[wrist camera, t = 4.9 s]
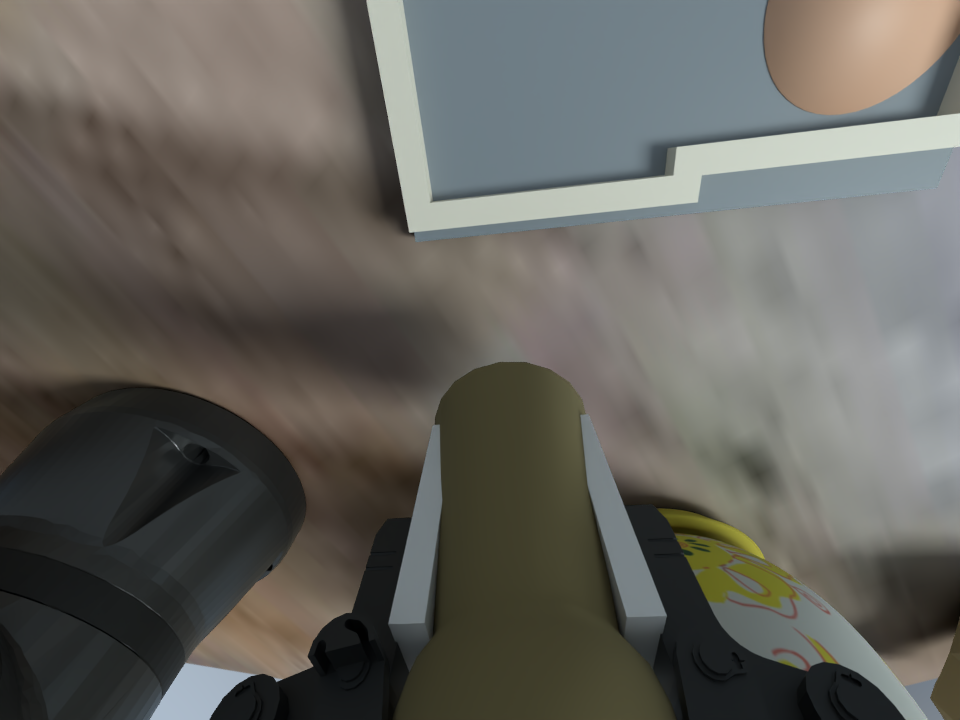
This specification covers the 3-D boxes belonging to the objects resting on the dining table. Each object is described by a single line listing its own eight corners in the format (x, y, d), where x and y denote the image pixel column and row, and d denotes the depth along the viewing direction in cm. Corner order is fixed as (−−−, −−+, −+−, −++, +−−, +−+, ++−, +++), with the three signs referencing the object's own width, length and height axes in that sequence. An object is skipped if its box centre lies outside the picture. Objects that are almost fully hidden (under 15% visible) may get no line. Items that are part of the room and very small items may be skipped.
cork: (405, 399, 14) (224, 898, 5) (551, 334, 13) (738, 862, 3) (478, 499, 17) (460, 962, 7) (607, 454, 15) (809, 958, 6)
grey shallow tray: (420, 237, 17) (411, 245, 15) (348, -176, 11) (323, -232, 10) (910, 186, 15) (959, 189, 13) (1114, -338, 9) (1241, -443, 8)
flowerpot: (761, 629, 29) (1016, 1083, 15) (534, 640, 32) (563, 1040, 17) (808, 458, 21) (1470, 1088, 7) (499, 490, 24) (497, 1005, 9)
